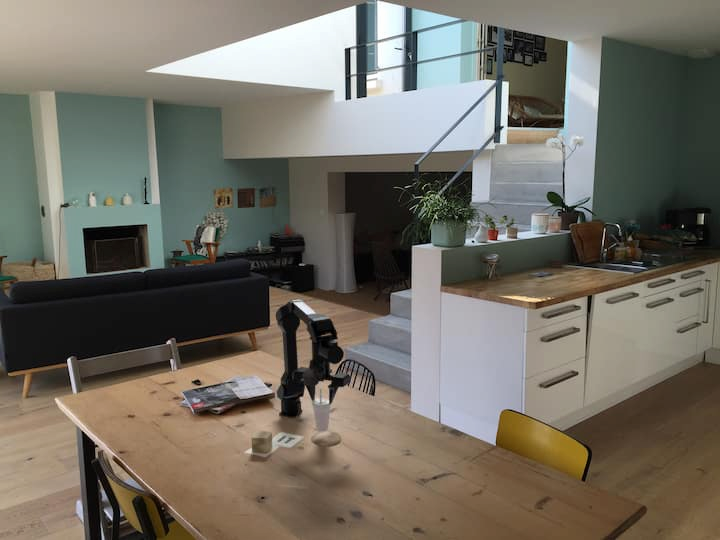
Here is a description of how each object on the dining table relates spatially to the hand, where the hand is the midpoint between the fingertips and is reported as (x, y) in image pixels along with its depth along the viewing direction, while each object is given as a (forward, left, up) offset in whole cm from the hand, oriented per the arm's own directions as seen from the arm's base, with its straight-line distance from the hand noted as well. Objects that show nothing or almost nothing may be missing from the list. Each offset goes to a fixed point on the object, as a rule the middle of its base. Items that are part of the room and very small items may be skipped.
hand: (321, 401), depth 195 cm
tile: (-14, -14, -13) cm, 24 cm away
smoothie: (0, 0, -10) cm, 10 cm away
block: (-14, -14, -13) cm, 24 cm away
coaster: (+1, +1, -13) cm, 13 cm away
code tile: (-11, -5, -13) cm, 18 cm away
